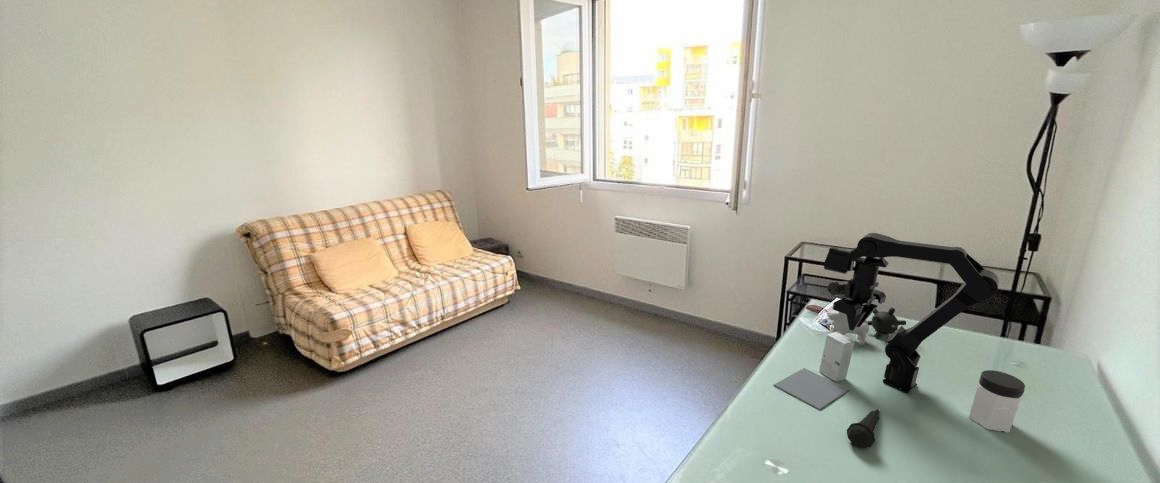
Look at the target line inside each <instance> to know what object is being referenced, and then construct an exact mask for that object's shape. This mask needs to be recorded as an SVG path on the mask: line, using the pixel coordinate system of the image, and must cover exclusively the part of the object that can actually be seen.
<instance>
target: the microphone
mask: <svg viewBox="0 0 1160 483" xmlns="http://www.w3.org/2000/svg"><path fill="white" fill-rule="evenodd" d="M879 420H880V410H879V409H878V408H877V409H875V410H871V411H870V412H868V413H867V415H866V416H864V418H862V420H861V421H859V422H854V423H853V422H851V424H850V425H849V426H848V427H847V429H846V435H847V439H848V440H849V442H850V443H851V444H852V445H853V446H854V447H856V448H859V449H871V447H872V446H873V445H874V444H875V443H876V436H875V432H874V431H875V429H876V427H877V425H878V423H879Z"/></svg>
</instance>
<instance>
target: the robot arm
mask: <svg viewBox="0 0 1160 483" xmlns="http://www.w3.org/2000/svg"><path fill="white" fill-rule="evenodd" d="M891 257H897V258H898V257H899V258H903V259H904V258H905V259H911V260H920V261H926V262H932V263H933V262H934V263H942V264H948V265H950V266H951V267H952V269H954V271H955V272H956V273H957V275H958V276H959V277H960V278H961V280H962V281H963V283H962V284H961V285H960V287H959V288H958V289H957V290H956V292H955V293H954V294H953V295H951V296H950V297H949V298H947V299H946V300H945V301H944V302H942V303H941V304H940V305H939V306H937V307H936V308H935V309H933V310H932V311H931V312H930V313H928V314H927V315H926V316H924V317H923V318H922V319H921V320H919V321H918V322H917V323H916V324H915V325H913V326H911V327H909V328H905V327H904V326H903V325H900V326H899V327H898V330H897V331H895V332H894V333H891V334H889V337H888V338H887V340H886V346H885V347H884V353H885V355H886V356H887V358H888V359H889V363H888V364H886V366H885V371H884V374H883V378H884V379H882V383H884V384H885V385H888V386H891V387H893V388H895V389H897V390H900V391H902V392H904V393H907V394H908V393H910V392H911V391H913V389H915V388H916V387H918V383H917V378H918V374H919V370H920V367H919V366H918V365H919V361H920V359H921V355H920V354H919V352H918V351H917V349H918V348H919V347H920V345H921V344H922V342H923V341H924V340H926V339H927V338H929V337H930V336H931V335H933V334H934V333H935V332H937V331H938V330H940V329H941V328H942V327H943V326H945V325H946V324H947V323H949V322H950V321H951V320H953V319H954V318H955V317H957V316H958V315H959V314H961V313H962V312H963V311H965V310H966V309H968V308H970V307H973V306H975V305H978V304H981V303H983V302H985V301H986V300H987V301H988V299H991V298H993V297H994V296H996V294H997V293H998V291H999V284H1000V282H999V280H1000V279H999V277H998V275H997V274H996V273H995V272H993V271H991V270H989V269H986V268H984V266H983V265H982V264H980V262H978V261H977V260H976V259H974V258H973V256H971V255H970V254H969V253H968V252H967V251H966V250H965V249H964V248H963V247H959V246H945V245H938V244H937V245H936V244H930V243H922V242H912V241H904V240H899V239H897V238H893V237H890V236H888V235H885V234H881V233H877V232H869V233H867V234H865V235H864V236H863V237H861V239H859V241H858V242H857V246H856V247H853V248H852V249H851V250H846V249H841V248H838V247H835V246H831V247H830V248H829V249H828V252H827V255H826V258H825V259H824V263H823V269H824V270H825V271H826V270H827V271H828V272H829V271H830V272H834V273H839V274H843V275H847V273H848V272H853V274H852V278H851V279H849V280H847V281H846V280H843V281H835V282H834V281H831V282H829V283H828V285H827V288H826V291H828V293H829V294H830V296H836V295H842V296H843V295H844V297H842V298H841V299H838V300H836V301H834V302H833V304H832V308H831V309H832V310H835V311H838V312H841V313H844V314H846V315H847V320H848V325H849V330H852V331H853V330H854V329H855V328H856V327H860V326H861V325H862V324H863V323H864V322H865V320H868V318H869V317H870V316H871V314H873V311H874V310H875V309H878V307H879V306H878V305H877V304H875V303H874V301H875V300H877V302H878V304H880V305H881V304H883V303H885V302H886V299H887V298H886V297H887V295H886V294H885V292H884V291H881V290H878V289H875V288H877V287H879V282H877V280H878V274H879V270H880V268H886V267H887V266H889V262H888V260H886V259H885V258H891Z"/></svg>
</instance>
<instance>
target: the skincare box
mask: <svg viewBox="0 0 1160 483" xmlns="http://www.w3.org/2000/svg"><path fill="white" fill-rule="evenodd" d="M855 343H856V341H855V340H852V339H851V338H849V337H848V336H846V335H842V334H840V333H838V332H836V331H835V332H831V333H828V334H826V337H825V342H824V348H823V352H822V356H821V359H820V365H819V369H818V370H819V372H820V373H822V374H823V375H825V376H826V377H827V378H829V379H831V381H832V380H833V382H839V381H844V380H845V379H847V375H848V372H849V367H850V363H851V358H852V356H853V355H852V354H853V351H854V347H855Z"/></svg>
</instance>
